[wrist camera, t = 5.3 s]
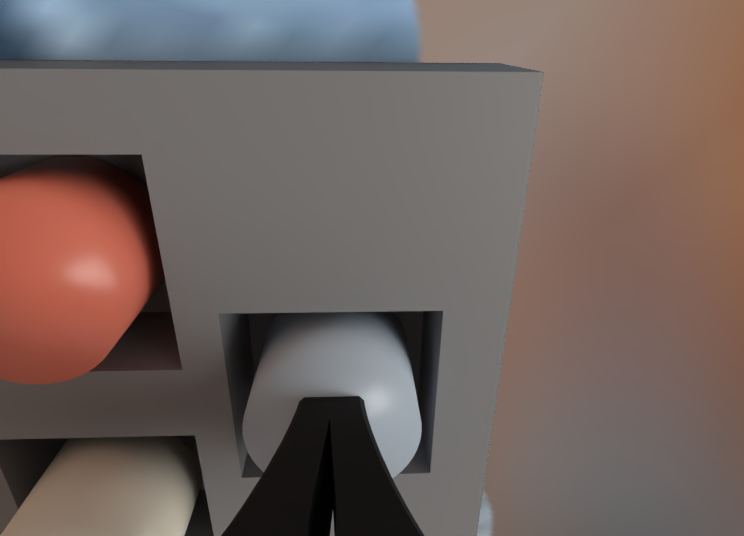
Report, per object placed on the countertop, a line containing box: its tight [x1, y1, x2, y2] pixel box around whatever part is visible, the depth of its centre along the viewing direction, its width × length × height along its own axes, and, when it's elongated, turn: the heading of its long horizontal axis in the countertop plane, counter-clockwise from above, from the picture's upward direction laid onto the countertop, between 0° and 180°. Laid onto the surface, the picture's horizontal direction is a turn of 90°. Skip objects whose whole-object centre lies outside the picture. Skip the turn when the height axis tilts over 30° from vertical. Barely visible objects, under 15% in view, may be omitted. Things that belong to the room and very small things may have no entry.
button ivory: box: [0, 436, 202, 536], centre depth 13 cm, size 4×4×3 cm
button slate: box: [242, 311, 422, 478], centre depth 13 cm, size 4×4×3 cm
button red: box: [0, 156, 165, 384], centre depth 11 cm, size 4×4×3 cm
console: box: [0, 60, 544, 536], centre depth 13 cm, size 15×14×3 cm
